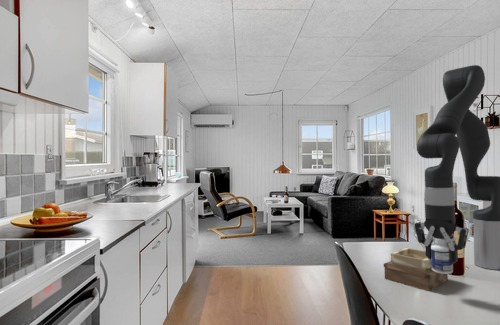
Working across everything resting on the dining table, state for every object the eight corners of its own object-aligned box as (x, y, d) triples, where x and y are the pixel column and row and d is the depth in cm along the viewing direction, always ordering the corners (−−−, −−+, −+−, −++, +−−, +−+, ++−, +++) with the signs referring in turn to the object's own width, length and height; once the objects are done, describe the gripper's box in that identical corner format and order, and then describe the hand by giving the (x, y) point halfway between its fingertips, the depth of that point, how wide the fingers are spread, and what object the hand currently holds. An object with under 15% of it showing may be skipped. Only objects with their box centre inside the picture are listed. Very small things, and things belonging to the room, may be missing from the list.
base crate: (404, 269, 116) (404, 255, 116) (448, 280, 105) (448, 265, 105) (383, 278, 108) (383, 263, 108) (429, 291, 96) (428, 274, 96)
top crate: (407, 257, 114) (406, 247, 114) (440, 264, 105) (440, 254, 105) (391, 263, 107) (390, 253, 107) (425, 272, 99) (425, 260, 99)
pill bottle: (433, 266, 97) (432, 234, 97) (454, 270, 93) (453, 236, 93) (429, 272, 93) (428, 238, 93) (451, 275, 89) (450, 240, 89)
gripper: (472, 203, 89) (474, 263, 90) (419, 199, 101) (421, 253, 101) (462, 206, 85) (464, 270, 85) (408, 202, 96) (410, 258, 96)
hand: (441, 260), depth 93 cm, fingers closed on pill bottle, 5 cm apart
